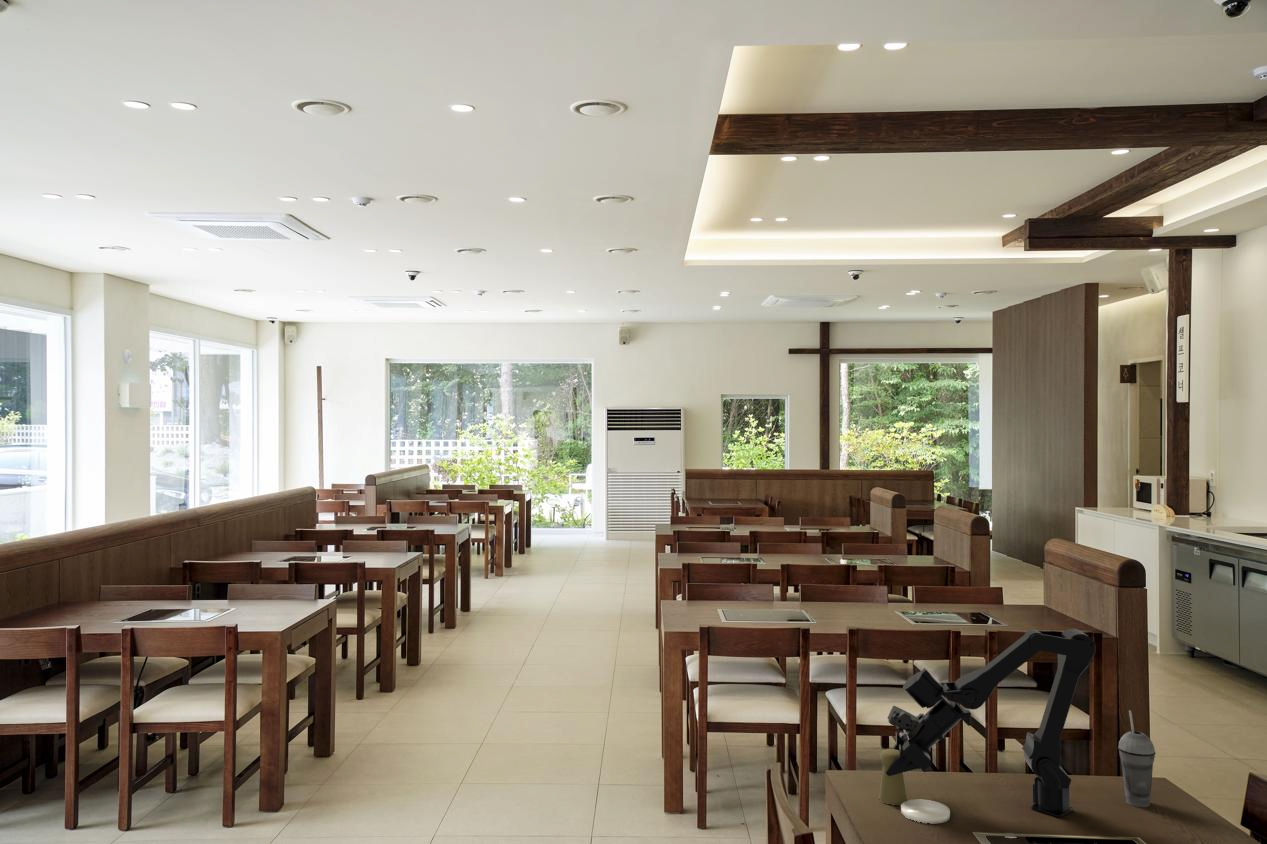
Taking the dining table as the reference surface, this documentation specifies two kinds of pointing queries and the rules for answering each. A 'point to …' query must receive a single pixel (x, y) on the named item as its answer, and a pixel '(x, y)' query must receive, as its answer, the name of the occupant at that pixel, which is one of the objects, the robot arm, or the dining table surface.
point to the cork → (891, 780)
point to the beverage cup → (1137, 766)
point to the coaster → (925, 811)
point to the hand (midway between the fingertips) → (886, 770)
